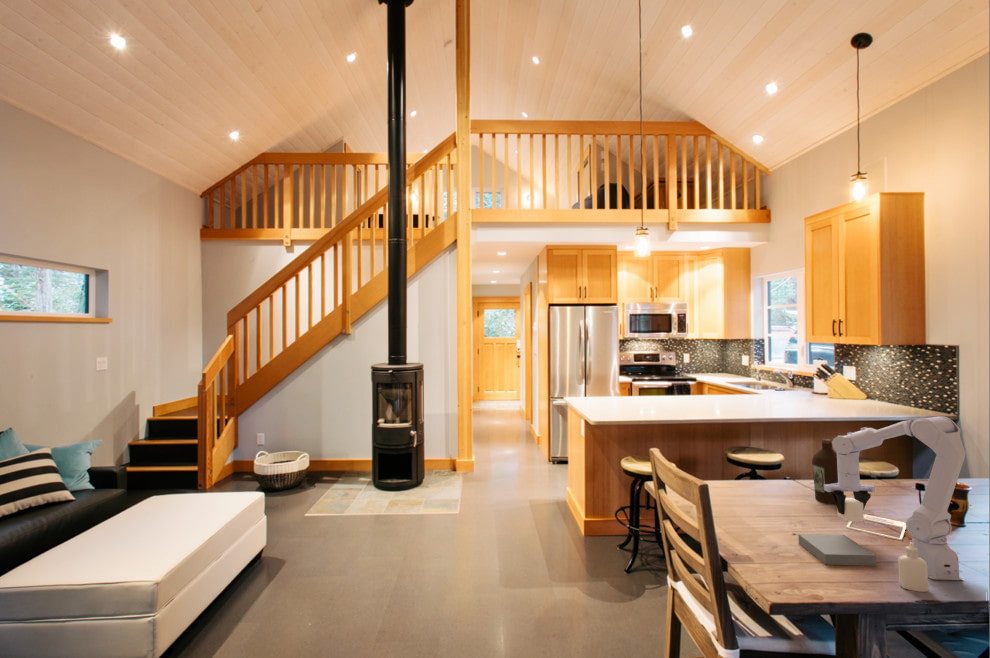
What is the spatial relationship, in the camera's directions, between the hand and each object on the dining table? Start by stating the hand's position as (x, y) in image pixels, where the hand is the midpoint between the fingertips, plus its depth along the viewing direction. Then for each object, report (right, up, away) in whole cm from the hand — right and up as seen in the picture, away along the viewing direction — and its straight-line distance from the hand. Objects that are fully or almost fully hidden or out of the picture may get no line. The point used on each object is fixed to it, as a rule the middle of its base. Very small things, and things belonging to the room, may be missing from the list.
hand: (850, 513), depth 149 cm
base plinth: (-12, -9, -9) cm, 17 cm away
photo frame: (+17, -9, +10) cm, 22 cm away
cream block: (0, -2, 0) cm, 2 cm away
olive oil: (+19, -10, +35) cm, 41 cm away
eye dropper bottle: (-6, -8, -29) cm, 31 cm away
